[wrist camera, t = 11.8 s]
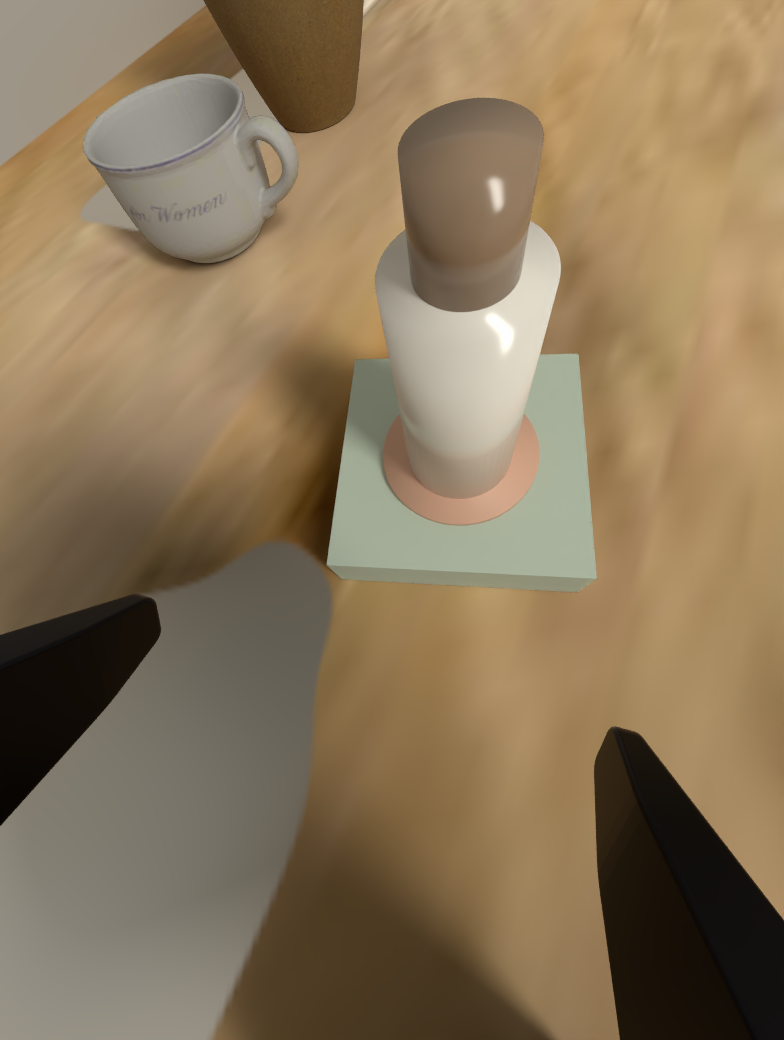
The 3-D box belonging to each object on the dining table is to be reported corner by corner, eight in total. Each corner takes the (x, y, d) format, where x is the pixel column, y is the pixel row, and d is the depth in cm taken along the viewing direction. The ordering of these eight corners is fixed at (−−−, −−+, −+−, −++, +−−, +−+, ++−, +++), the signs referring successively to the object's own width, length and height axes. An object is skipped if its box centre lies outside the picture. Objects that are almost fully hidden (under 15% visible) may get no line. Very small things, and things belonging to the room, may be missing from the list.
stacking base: (577, 592, 21) (598, 577, 18) (341, 579, 23) (324, 563, 20) (564, 389, 25) (579, 349, 22) (365, 392, 27) (354, 355, 24)
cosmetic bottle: (512, 500, 20) (607, 215, 8) (405, 497, 20) (337, 234, 8) (511, 408, 21) (586, 58, 9) (412, 409, 22) (364, 86, 10)
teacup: (133, 267, 34) (46, 153, 27) (208, 179, 37) (147, 55, 30) (274, 308, 31) (217, 190, 23) (344, 208, 34) (314, 73, 26)
